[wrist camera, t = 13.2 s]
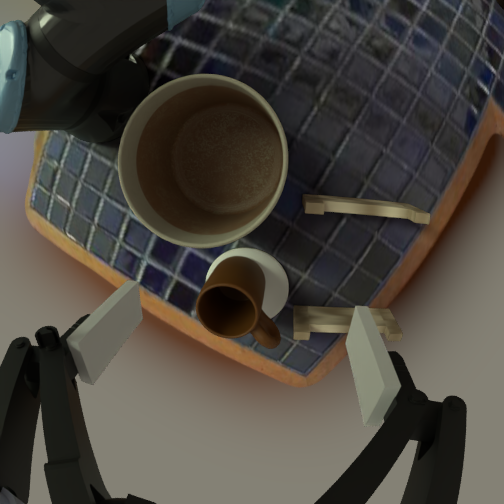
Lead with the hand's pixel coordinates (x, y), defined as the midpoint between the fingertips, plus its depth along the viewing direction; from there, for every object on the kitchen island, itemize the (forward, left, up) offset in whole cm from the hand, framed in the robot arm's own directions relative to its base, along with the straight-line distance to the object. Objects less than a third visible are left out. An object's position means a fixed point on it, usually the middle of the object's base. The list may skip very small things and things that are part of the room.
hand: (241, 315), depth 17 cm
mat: (-3, -10, -24) cm, 25 cm away
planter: (-6, +8, -24) cm, 26 cm away
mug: (-2, -10, -23) cm, 25 cm away
